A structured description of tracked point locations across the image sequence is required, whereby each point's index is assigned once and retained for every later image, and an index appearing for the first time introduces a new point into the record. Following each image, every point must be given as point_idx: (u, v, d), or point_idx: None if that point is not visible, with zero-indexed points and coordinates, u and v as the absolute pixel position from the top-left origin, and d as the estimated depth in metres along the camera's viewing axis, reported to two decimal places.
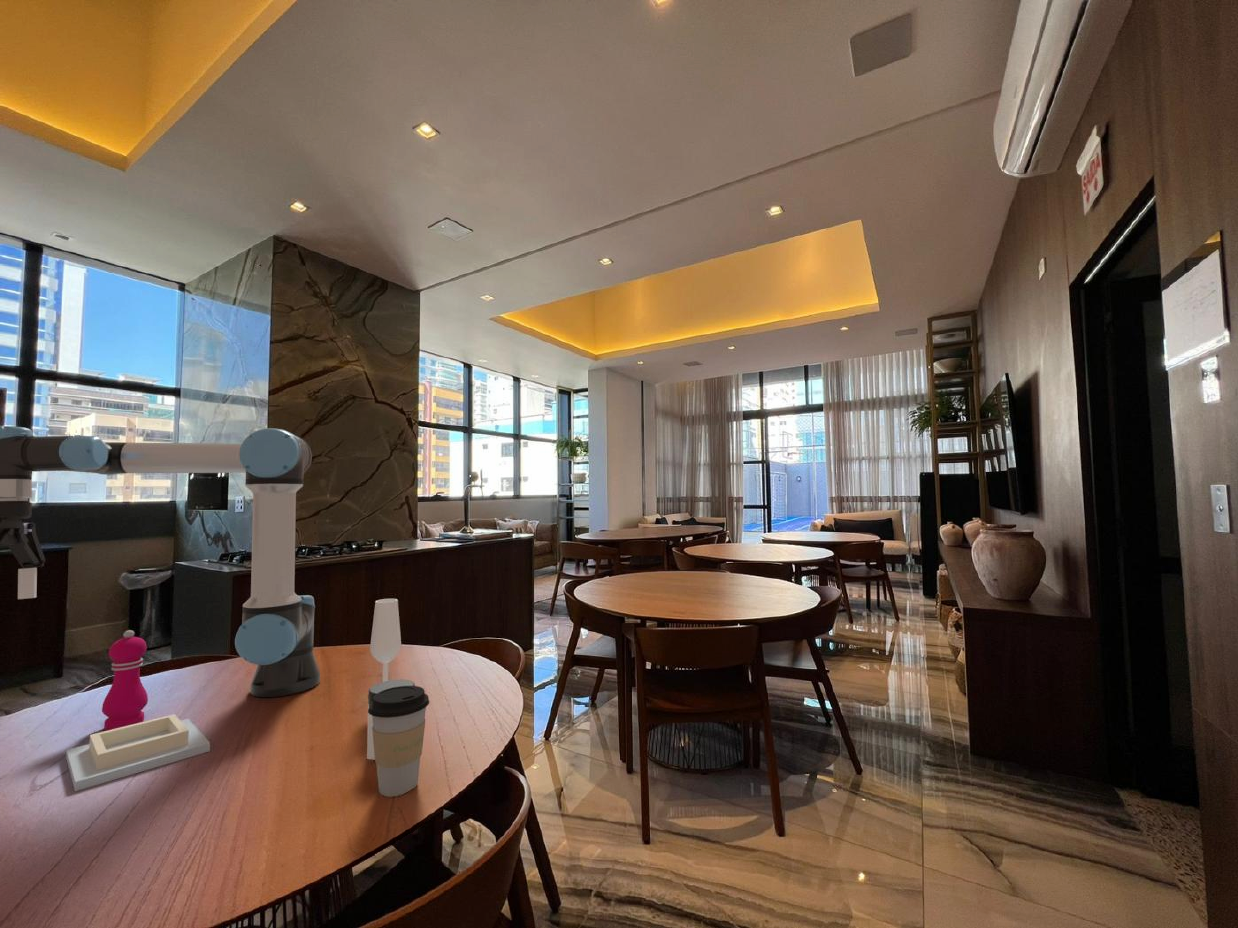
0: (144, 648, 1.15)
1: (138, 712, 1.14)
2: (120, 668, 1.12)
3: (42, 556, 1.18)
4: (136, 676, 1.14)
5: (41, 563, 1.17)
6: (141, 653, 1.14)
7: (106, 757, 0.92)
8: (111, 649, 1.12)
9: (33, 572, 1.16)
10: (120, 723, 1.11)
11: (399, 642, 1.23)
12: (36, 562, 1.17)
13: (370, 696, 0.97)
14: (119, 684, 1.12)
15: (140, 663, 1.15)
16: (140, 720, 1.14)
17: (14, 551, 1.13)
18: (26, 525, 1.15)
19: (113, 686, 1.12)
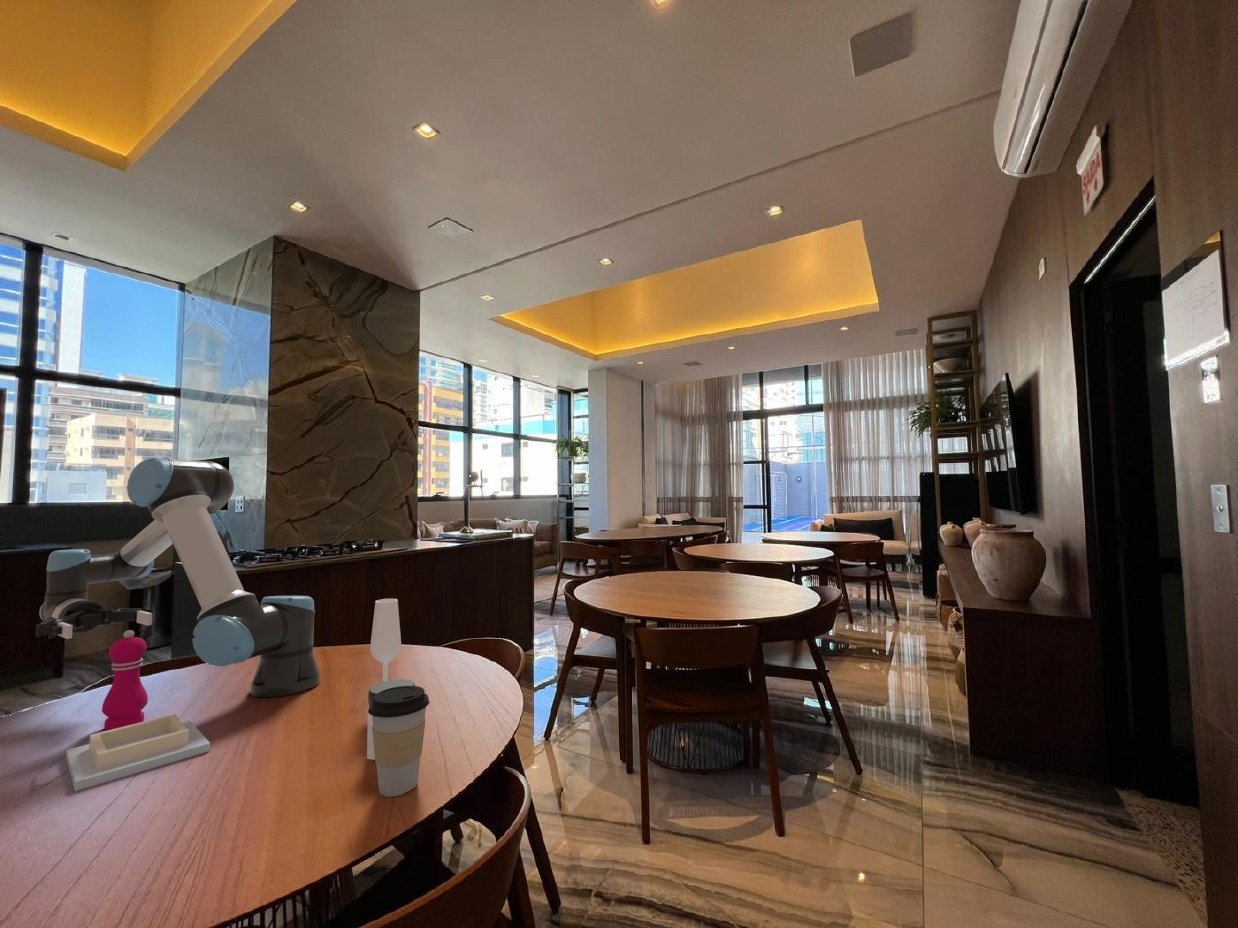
0: (144, 648, 1.15)
1: (138, 712, 1.14)
2: (120, 668, 1.12)
3: (147, 609, 1.32)
4: (136, 676, 1.14)
5: None
6: (141, 653, 1.14)
7: (106, 757, 0.92)
8: (111, 649, 1.12)
9: (139, 612, 1.28)
10: (120, 723, 1.11)
11: (399, 642, 1.23)
12: (139, 610, 1.30)
13: (370, 696, 0.97)
14: (119, 684, 1.12)
15: (140, 663, 1.15)
16: (140, 720, 1.14)
17: (118, 620, 1.28)
18: None
19: (113, 686, 1.12)
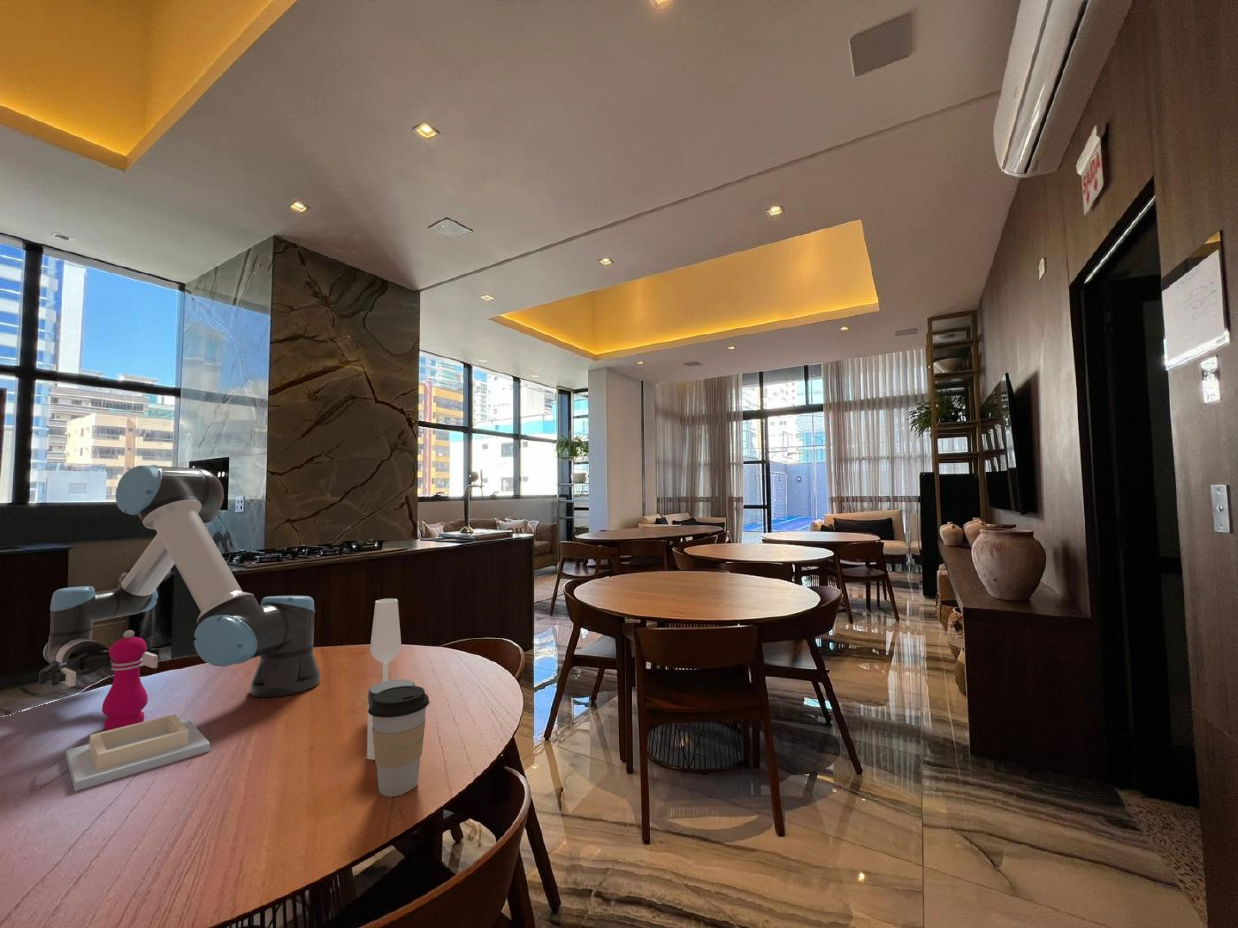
0: (144, 648, 1.15)
1: (138, 712, 1.14)
2: (120, 668, 1.12)
3: (152, 649, 1.28)
4: (136, 676, 1.14)
5: None
6: (141, 653, 1.14)
7: (106, 757, 0.92)
8: (111, 649, 1.12)
9: (144, 653, 1.25)
10: (120, 723, 1.11)
11: (399, 642, 1.23)
12: None
13: (370, 696, 0.97)
14: (119, 684, 1.12)
15: (140, 663, 1.15)
16: (140, 720, 1.14)
17: None
18: None
19: (113, 686, 1.12)
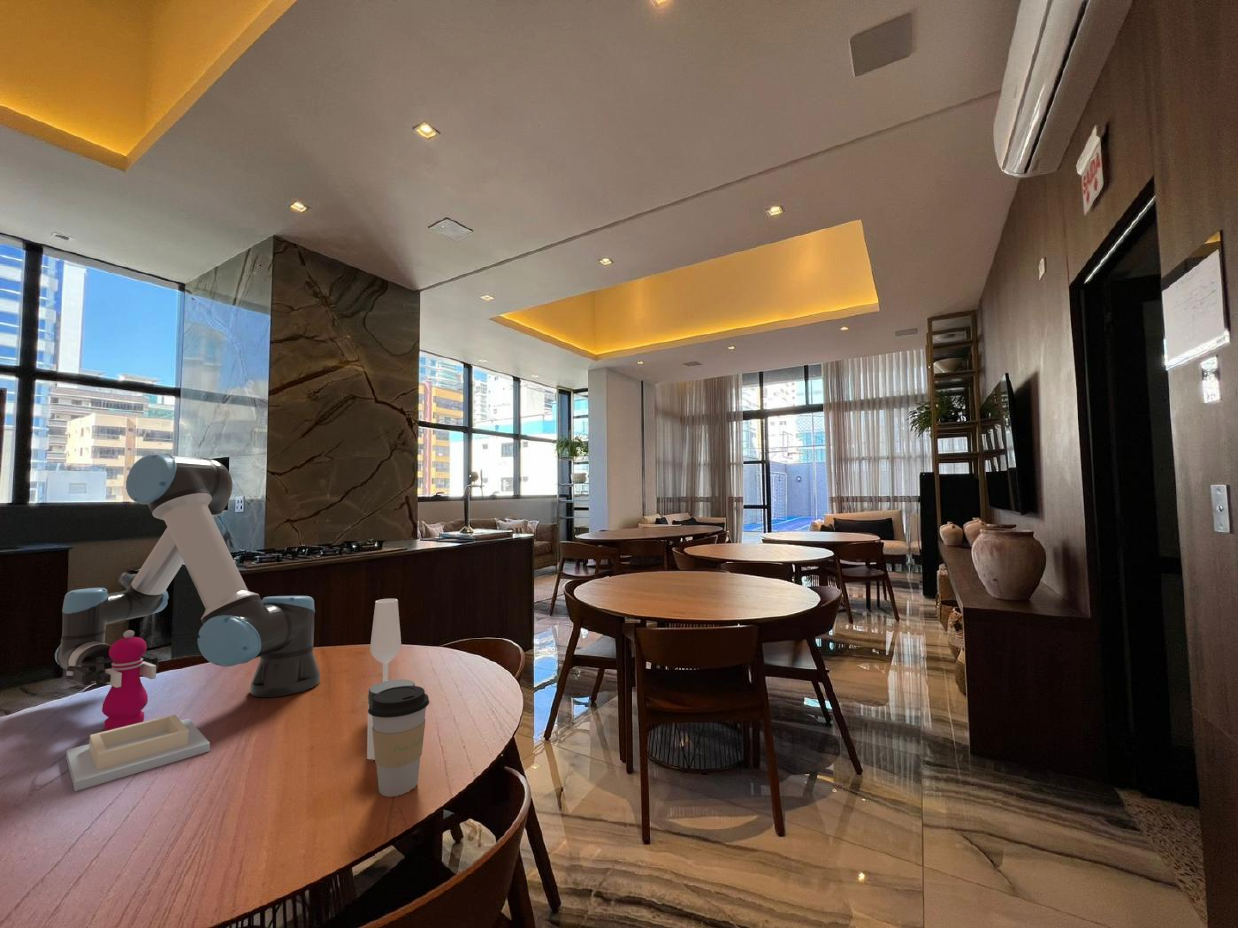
0: (144, 648, 1.15)
1: (138, 712, 1.14)
2: (120, 668, 1.12)
3: (153, 657, 1.21)
4: (136, 676, 1.14)
5: None
6: (141, 653, 1.14)
7: (106, 757, 0.92)
8: (111, 649, 1.12)
9: None
10: (120, 723, 1.11)
11: (399, 642, 1.23)
12: None
13: (370, 696, 0.97)
14: None
15: (140, 663, 1.15)
16: (140, 720, 1.14)
17: None
18: None
19: (113, 686, 1.12)
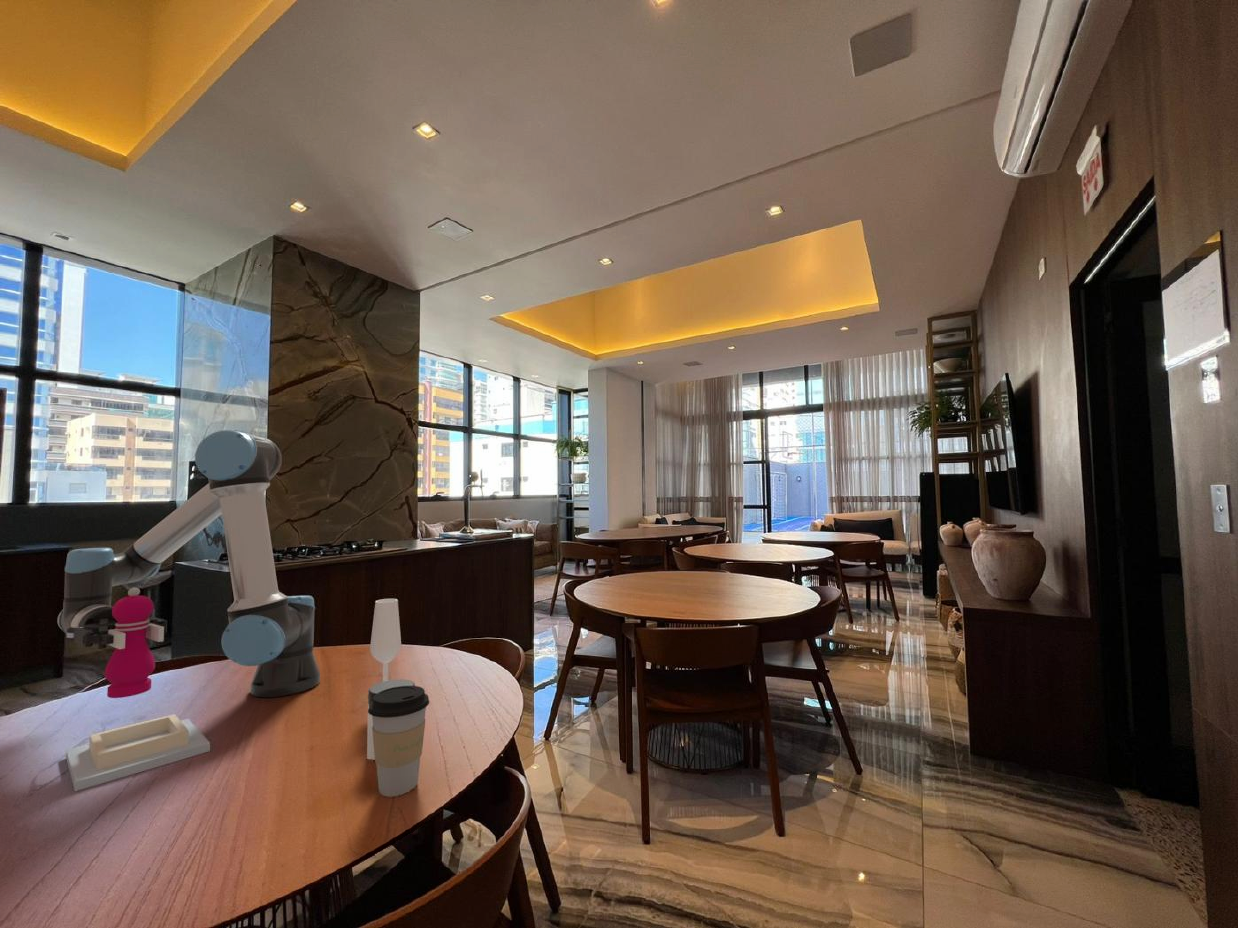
0: (151, 608, 1.04)
1: (145, 679, 1.03)
2: (124, 629, 1.01)
3: (161, 620, 1.09)
4: (142, 638, 1.03)
5: None
6: (147, 613, 1.03)
7: (106, 757, 0.92)
8: (114, 608, 1.01)
9: None
10: (124, 689, 1.00)
11: (399, 642, 1.23)
12: None
13: (370, 696, 0.97)
14: None
15: (146, 624, 1.03)
16: (147, 687, 1.02)
17: None
18: None
19: (117, 649, 1.01)
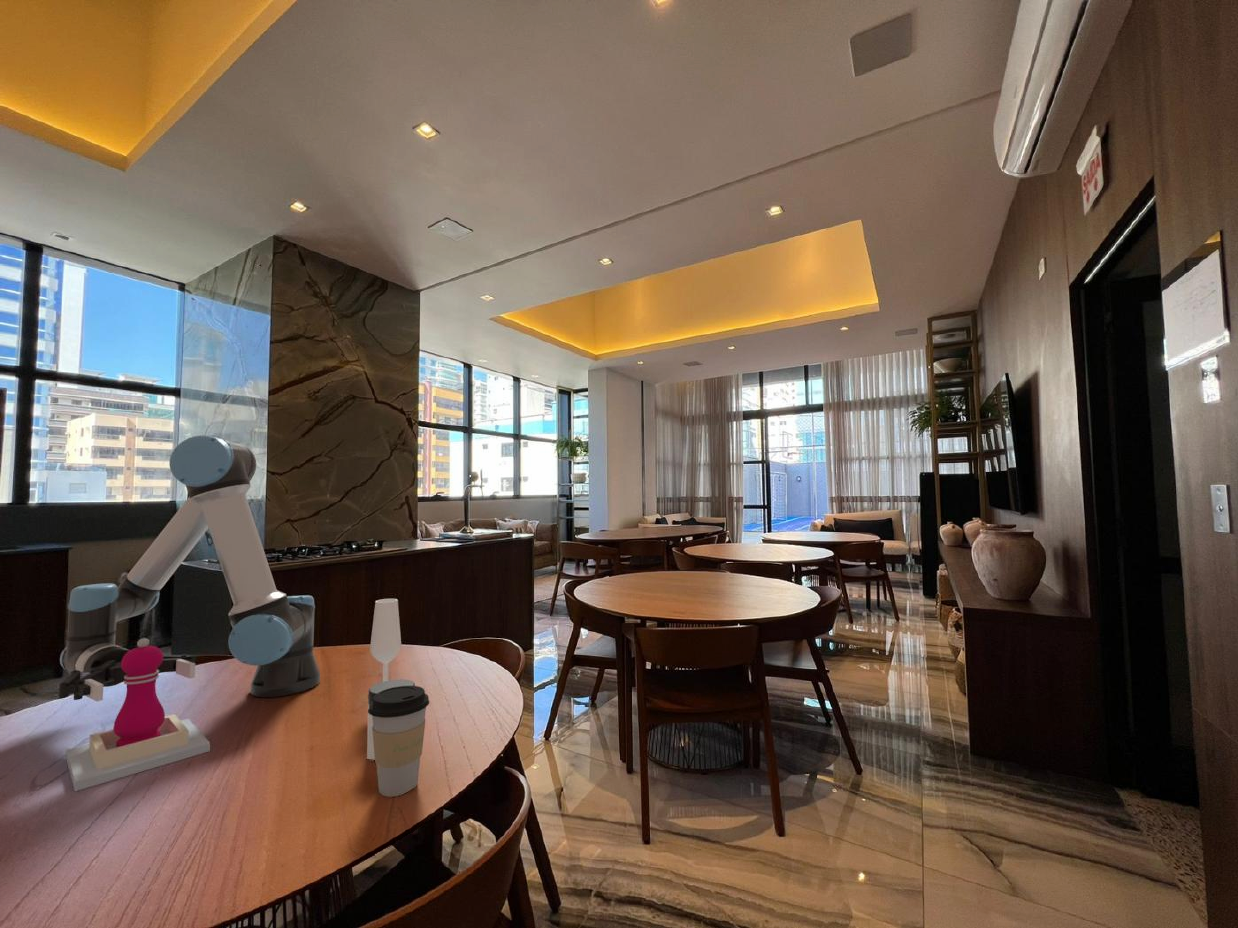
0: (160, 658, 1.02)
1: (154, 732, 1.01)
2: (134, 682, 0.98)
3: (187, 655, 1.11)
4: (151, 690, 1.01)
5: None
6: (157, 664, 1.01)
7: (106, 757, 0.92)
8: (123, 660, 0.98)
9: (178, 661, 1.08)
10: None
11: (399, 642, 1.23)
12: (179, 658, 1.09)
13: (370, 696, 0.97)
14: (133, 700, 0.98)
15: (156, 676, 1.01)
16: None
17: None
18: None
19: (126, 702, 0.98)
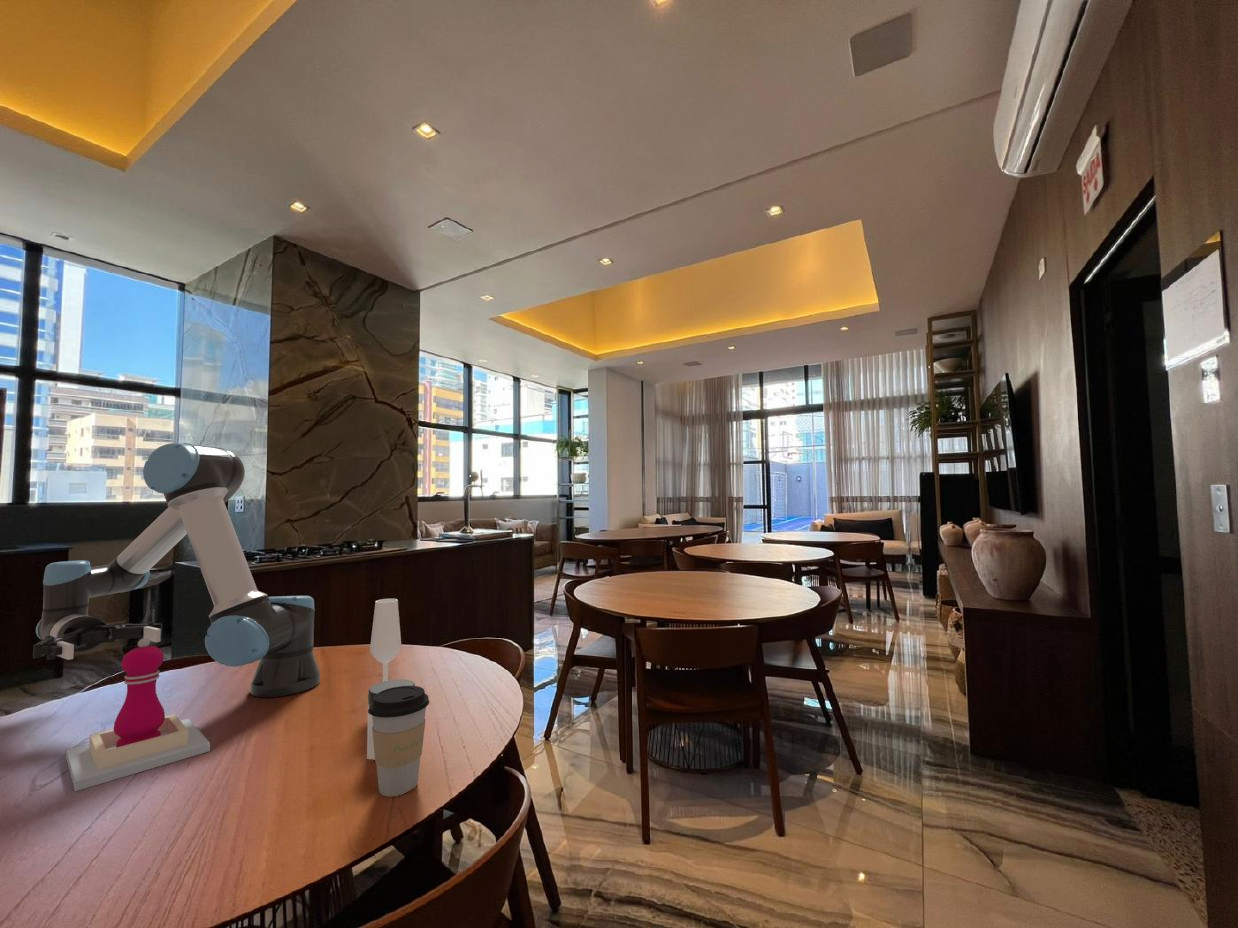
0: (161, 659, 1.02)
1: (154, 732, 1.01)
2: (134, 682, 0.98)
3: (154, 624, 1.21)
4: (152, 690, 1.01)
5: None
6: (158, 664, 1.01)
7: (106, 757, 0.92)
8: (124, 660, 0.98)
9: (146, 628, 1.17)
10: None
11: (399, 642, 1.23)
12: (146, 626, 1.19)
13: (370, 696, 0.97)
14: (134, 700, 0.98)
15: (156, 676, 1.01)
16: None
17: (123, 636, 1.17)
18: None
19: (126, 702, 0.99)
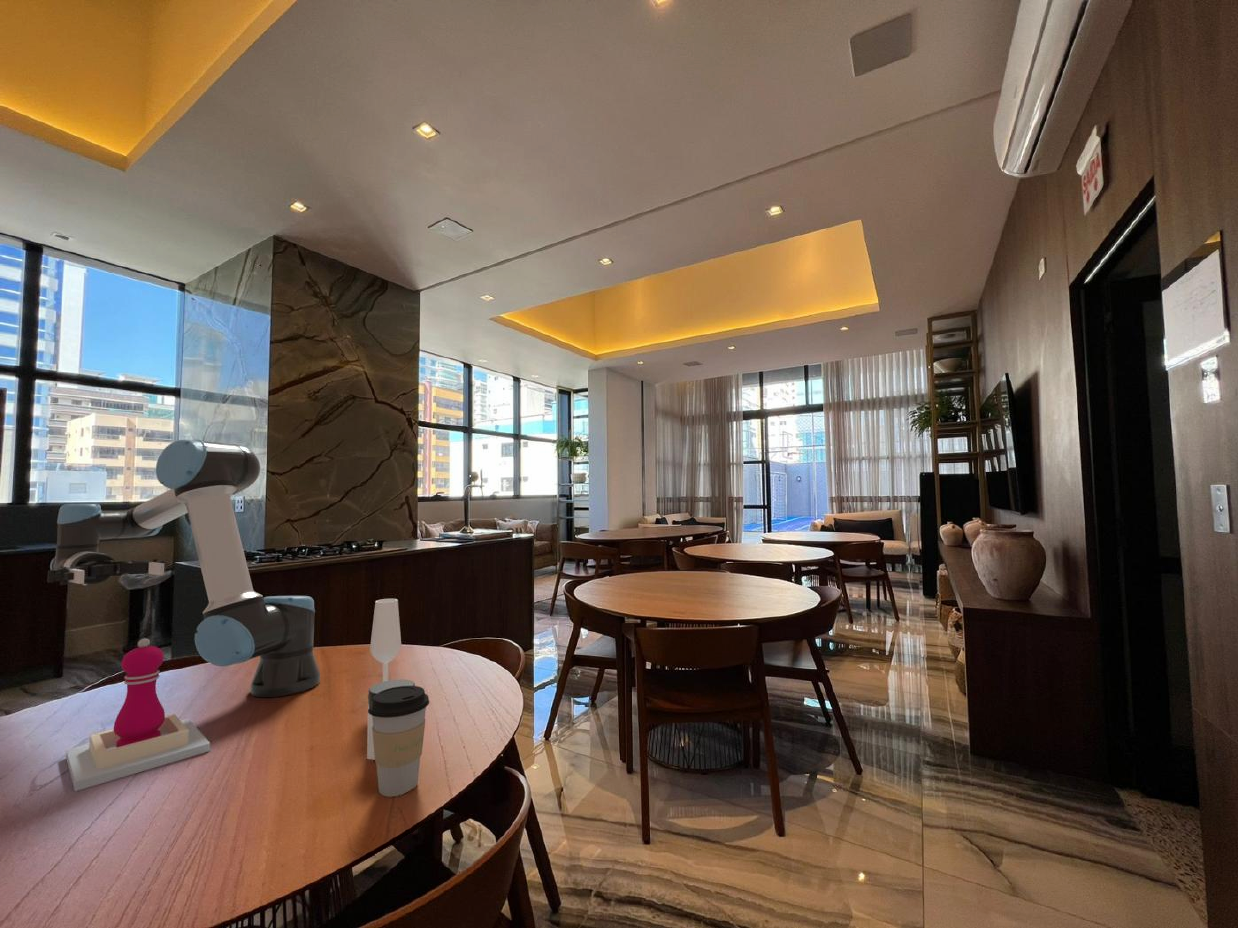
0: (161, 659, 1.02)
1: (154, 732, 1.01)
2: (134, 682, 0.98)
3: (159, 561, 1.30)
4: (152, 691, 1.01)
5: None
6: (158, 664, 1.01)
7: (106, 757, 0.92)
8: (124, 660, 0.98)
9: (150, 563, 1.26)
10: None
11: (399, 642, 1.23)
12: None
13: (370, 696, 0.97)
14: (134, 700, 0.98)
15: (156, 676, 1.01)
16: None
17: (130, 571, 1.27)
18: None
19: (126, 702, 0.98)
